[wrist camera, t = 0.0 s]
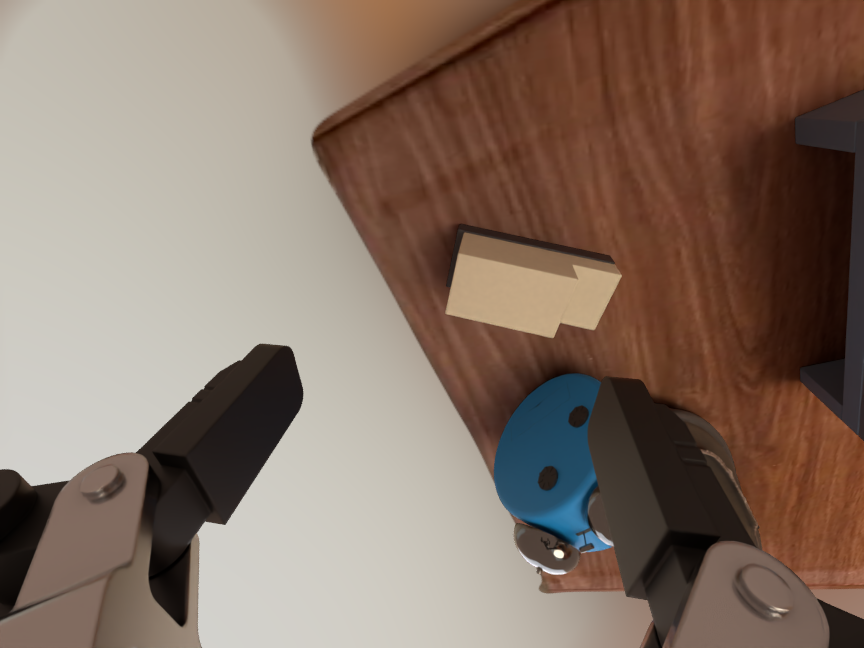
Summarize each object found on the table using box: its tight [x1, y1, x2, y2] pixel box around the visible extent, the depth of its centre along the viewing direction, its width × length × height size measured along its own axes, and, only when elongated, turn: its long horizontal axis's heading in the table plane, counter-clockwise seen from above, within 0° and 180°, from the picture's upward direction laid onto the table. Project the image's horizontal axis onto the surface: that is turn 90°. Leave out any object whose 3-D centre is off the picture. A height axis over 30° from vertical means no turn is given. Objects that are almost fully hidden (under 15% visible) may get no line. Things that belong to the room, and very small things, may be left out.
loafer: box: [671, 409, 762, 550], centre depth 35 cm, size 11×30×11 cm, turn 39°
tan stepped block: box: [445, 224, 622, 338], centre depth 27 cm, size 12×5×6 cm, turn 81°
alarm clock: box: [494, 373, 614, 575], centre depth 30 cm, size 13×6×15 cm, turn 144°
